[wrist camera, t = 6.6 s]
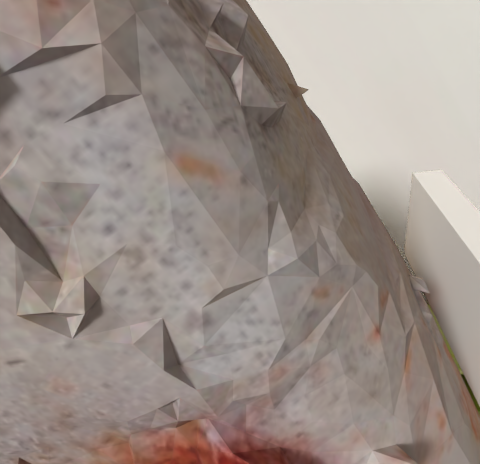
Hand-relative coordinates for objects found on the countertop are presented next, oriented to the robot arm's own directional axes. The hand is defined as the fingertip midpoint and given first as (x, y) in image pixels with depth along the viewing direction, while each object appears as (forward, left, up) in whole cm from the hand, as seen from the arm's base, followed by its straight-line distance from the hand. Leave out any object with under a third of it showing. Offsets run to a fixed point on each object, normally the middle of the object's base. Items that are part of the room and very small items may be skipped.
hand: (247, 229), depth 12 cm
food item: (0, 0, -1) cm, 1 cm away
